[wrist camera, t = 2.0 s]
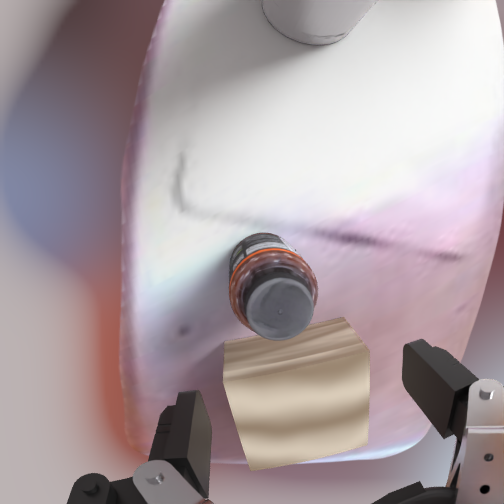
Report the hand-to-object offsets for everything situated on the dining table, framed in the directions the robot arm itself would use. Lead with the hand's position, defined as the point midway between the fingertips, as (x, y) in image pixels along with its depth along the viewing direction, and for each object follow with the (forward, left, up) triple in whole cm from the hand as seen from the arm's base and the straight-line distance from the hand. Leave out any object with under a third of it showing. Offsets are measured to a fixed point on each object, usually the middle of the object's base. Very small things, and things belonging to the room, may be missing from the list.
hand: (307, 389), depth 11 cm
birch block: (+13, +1, -19) cm, 23 cm away
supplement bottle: (0, 0, -19) cm, 19 cm away
